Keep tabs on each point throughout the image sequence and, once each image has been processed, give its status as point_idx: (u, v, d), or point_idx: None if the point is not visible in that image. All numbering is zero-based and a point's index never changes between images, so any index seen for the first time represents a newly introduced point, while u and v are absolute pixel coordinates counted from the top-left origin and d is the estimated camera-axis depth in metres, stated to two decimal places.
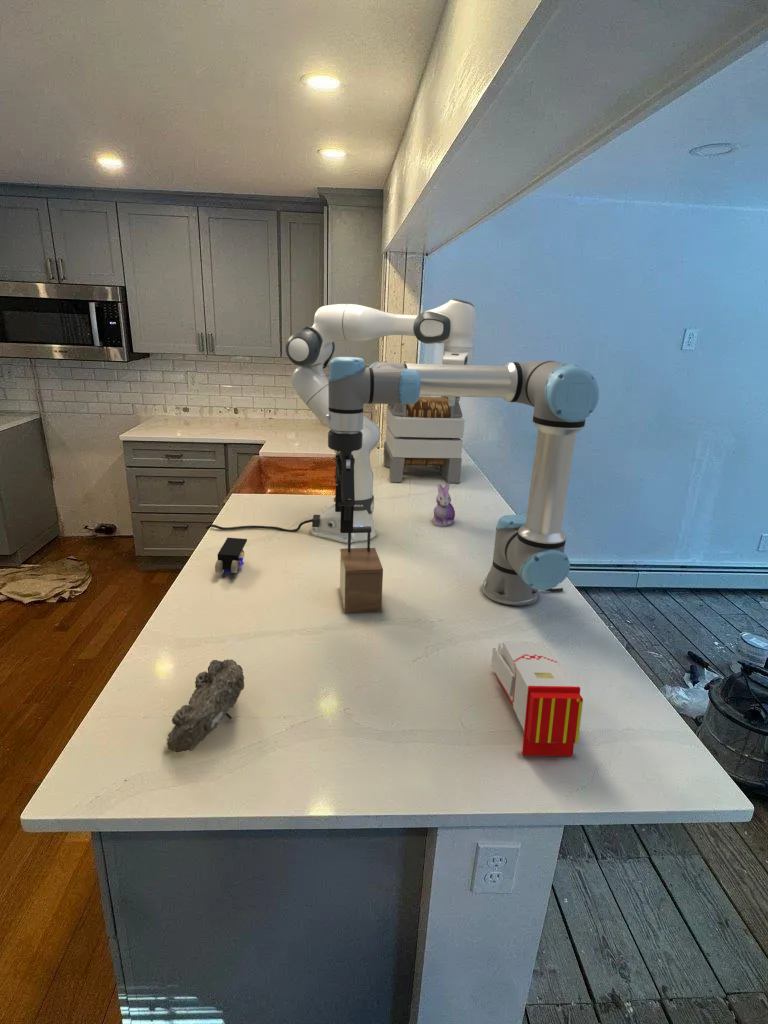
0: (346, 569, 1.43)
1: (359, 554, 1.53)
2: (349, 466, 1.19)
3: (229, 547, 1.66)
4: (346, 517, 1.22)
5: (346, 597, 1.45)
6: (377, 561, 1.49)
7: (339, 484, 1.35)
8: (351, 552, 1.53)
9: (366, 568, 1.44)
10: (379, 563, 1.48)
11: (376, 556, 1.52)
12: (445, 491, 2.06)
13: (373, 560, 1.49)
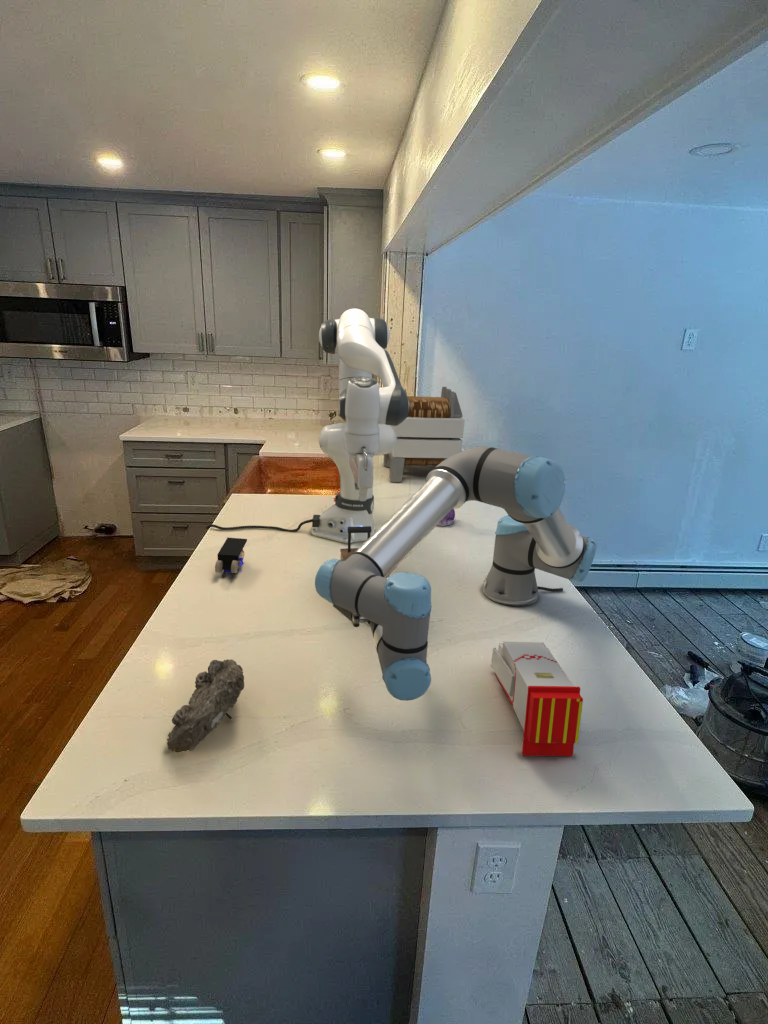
0: None
1: None
2: None
3: (229, 547, 1.66)
4: None
5: None
6: None
7: None
8: (351, 552, 1.53)
9: None
10: None
11: None
12: None
13: None
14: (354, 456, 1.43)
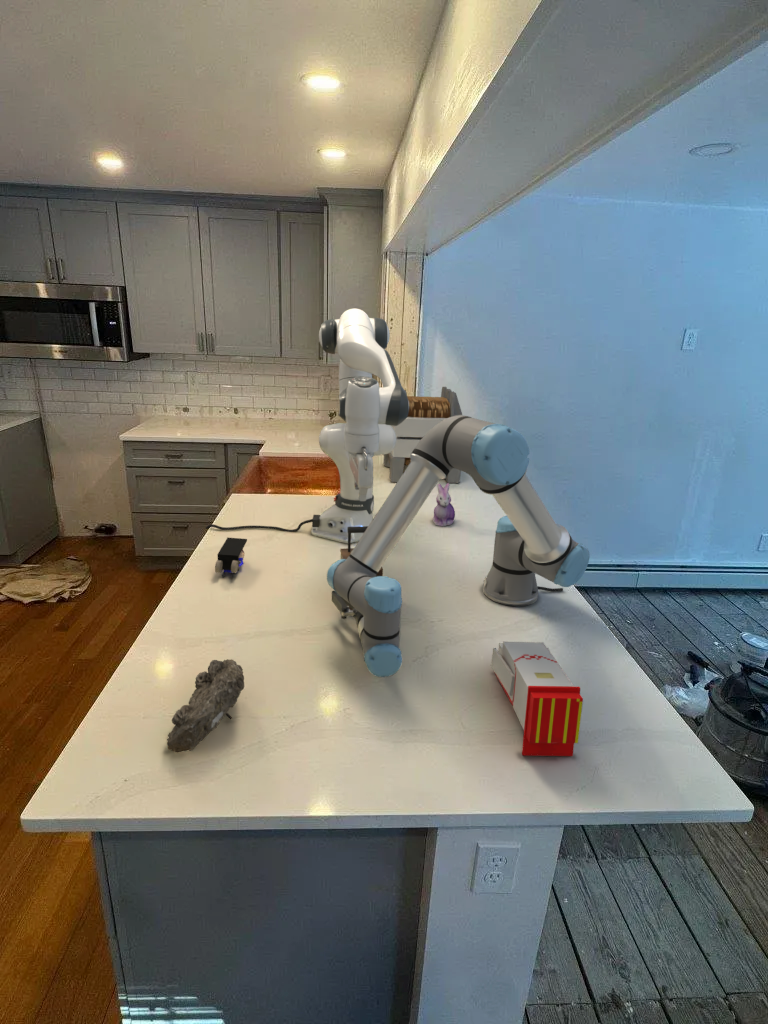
0: None
1: None
2: None
3: (229, 547, 1.66)
4: None
5: None
6: None
7: None
8: None
9: None
10: None
11: None
12: (445, 491, 2.06)
13: None
14: (354, 456, 1.43)
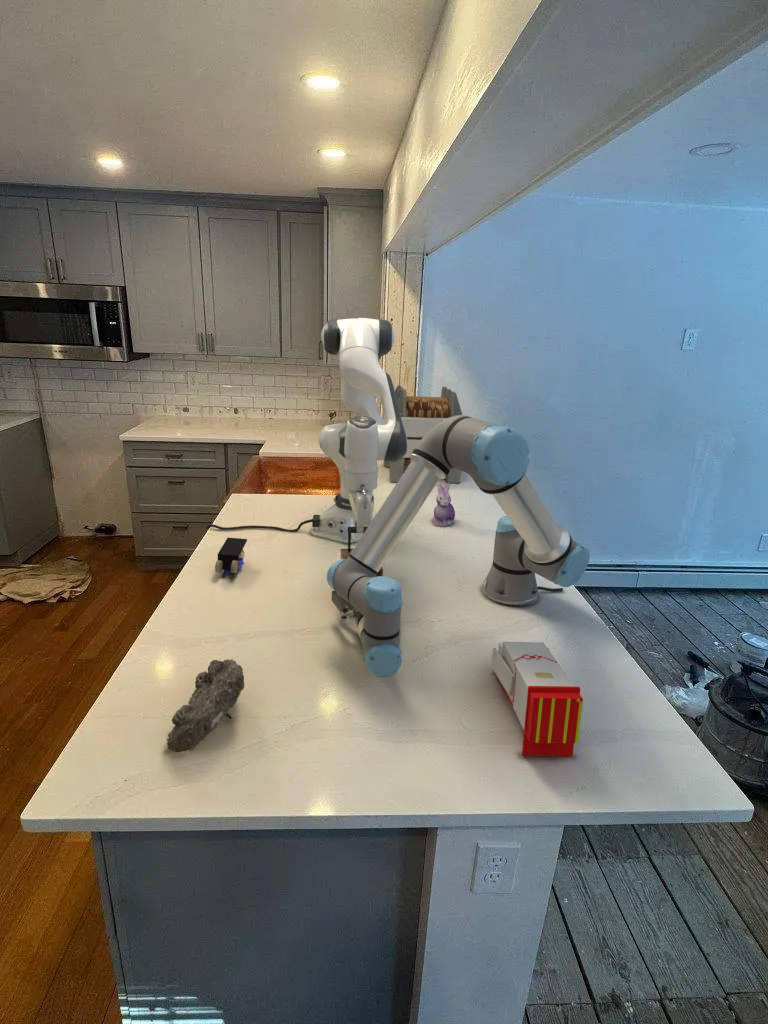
0: None
1: None
2: None
3: (229, 547, 1.66)
4: None
5: None
6: None
7: None
8: None
9: None
10: None
11: None
12: (445, 491, 2.06)
13: None
14: (353, 493, 1.46)
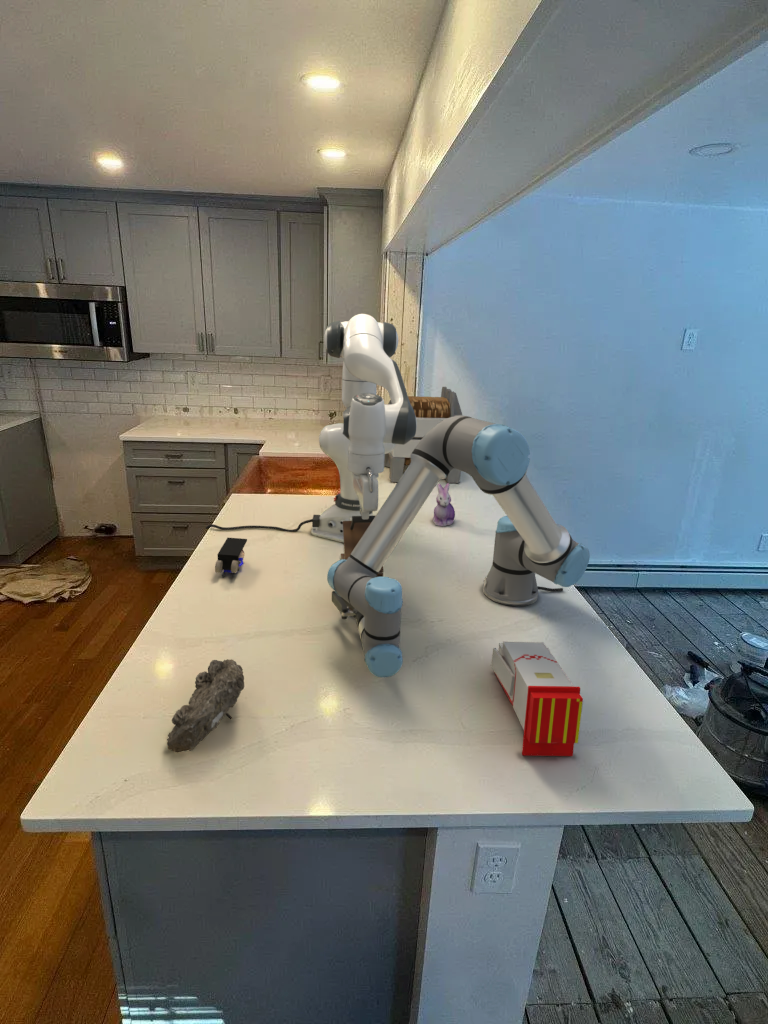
0: None
1: (362, 535, 1.47)
2: None
3: (229, 547, 1.66)
4: None
5: None
6: None
7: None
8: (354, 530, 1.47)
9: None
10: None
11: None
12: (445, 491, 2.06)
13: None
14: (358, 477, 1.35)
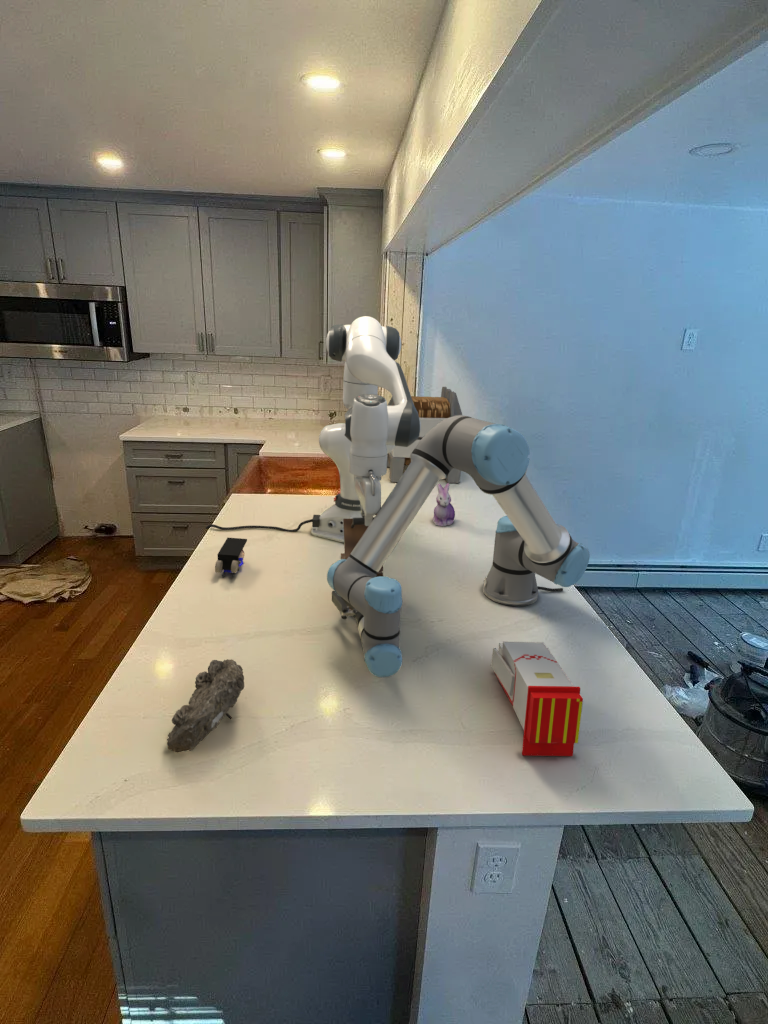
0: None
1: (362, 533, 1.45)
2: None
3: (229, 547, 1.66)
4: None
5: None
6: None
7: None
8: (354, 528, 1.45)
9: None
10: None
11: None
12: (445, 491, 2.06)
13: None
14: (360, 480, 1.32)
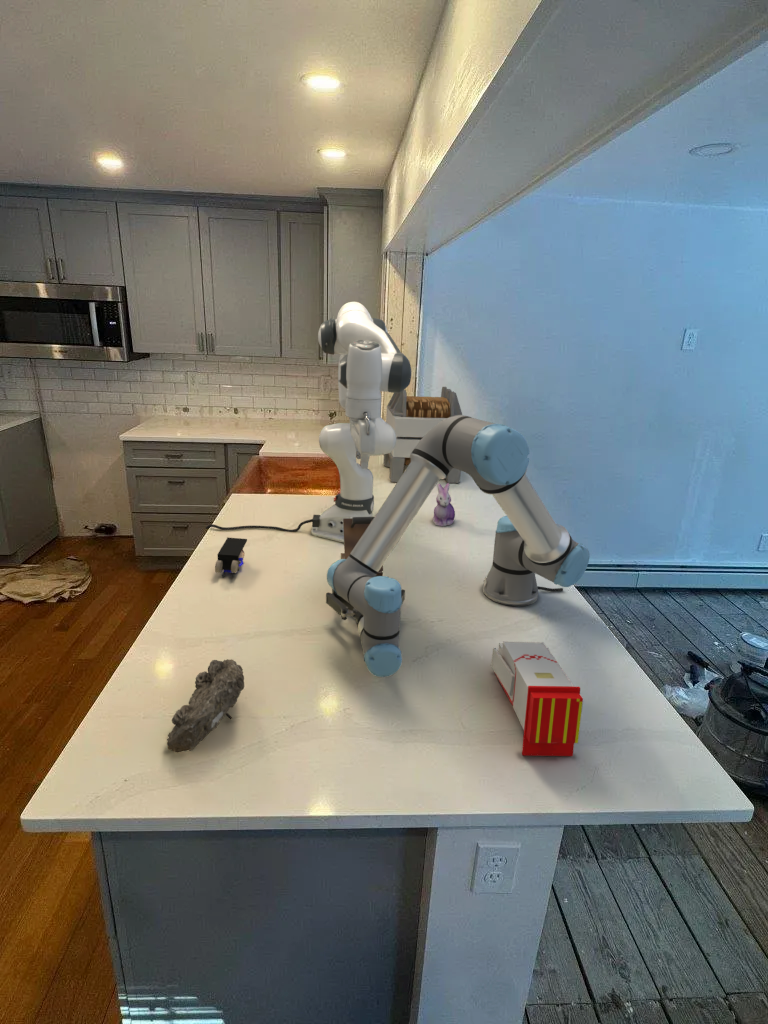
0: None
1: (362, 533, 1.46)
2: None
3: (229, 547, 1.66)
4: None
5: None
6: None
7: None
8: (354, 528, 1.46)
9: None
10: None
11: None
12: (445, 491, 2.06)
13: None
14: (355, 422, 1.39)
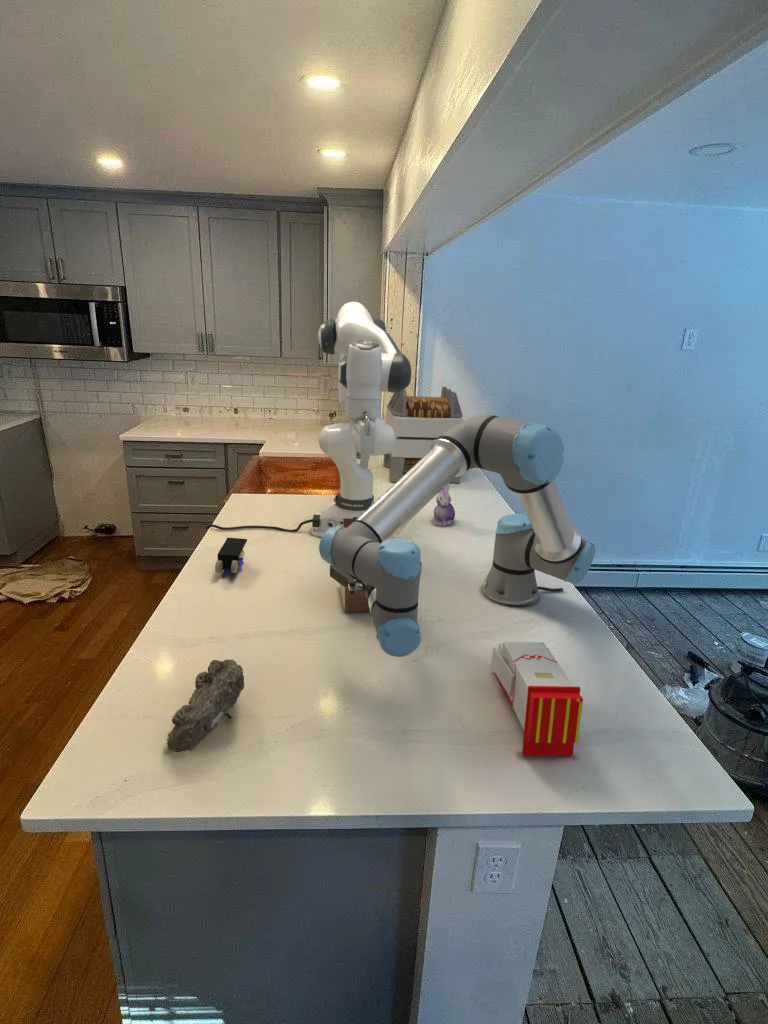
0: None
1: None
2: None
3: (229, 547, 1.66)
4: None
5: (346, 597, 1.46)
6: None
7: None
8: None
9: None
10: None
11: None
12: (445, 491, 2.06)
13: None
14: (355, 422, 1.39)
